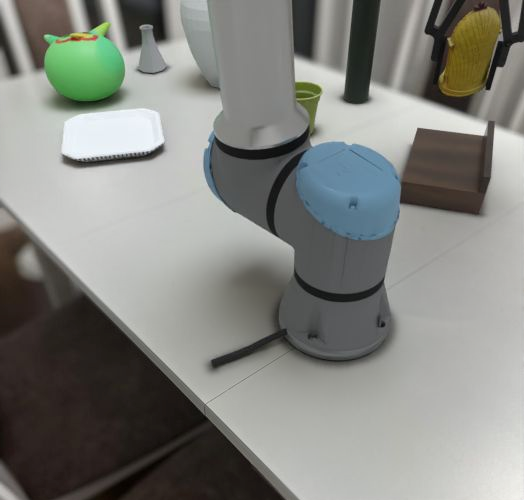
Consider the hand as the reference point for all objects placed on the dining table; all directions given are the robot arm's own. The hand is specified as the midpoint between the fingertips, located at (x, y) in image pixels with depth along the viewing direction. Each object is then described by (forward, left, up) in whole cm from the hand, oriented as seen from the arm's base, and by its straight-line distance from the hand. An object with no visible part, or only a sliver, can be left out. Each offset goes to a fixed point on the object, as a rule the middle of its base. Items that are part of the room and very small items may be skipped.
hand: (461, 84), depth 88 cm
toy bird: (-63, +56, -17) cm, 86 cm away
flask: (-47, +71, -17) cm, 87 cm away
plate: (-59, +31, -17) cm, 69 cm away
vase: (-31, +57, -17) cm, 67 cm away
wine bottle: (-2, +38, -17) cm, 42 cm away
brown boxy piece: (+1, -1, -17) cm, 17 cm away
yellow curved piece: (0, 0, -2) cm, 2 cm away
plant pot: (-20, +25, -17) cm, 37 cm away
